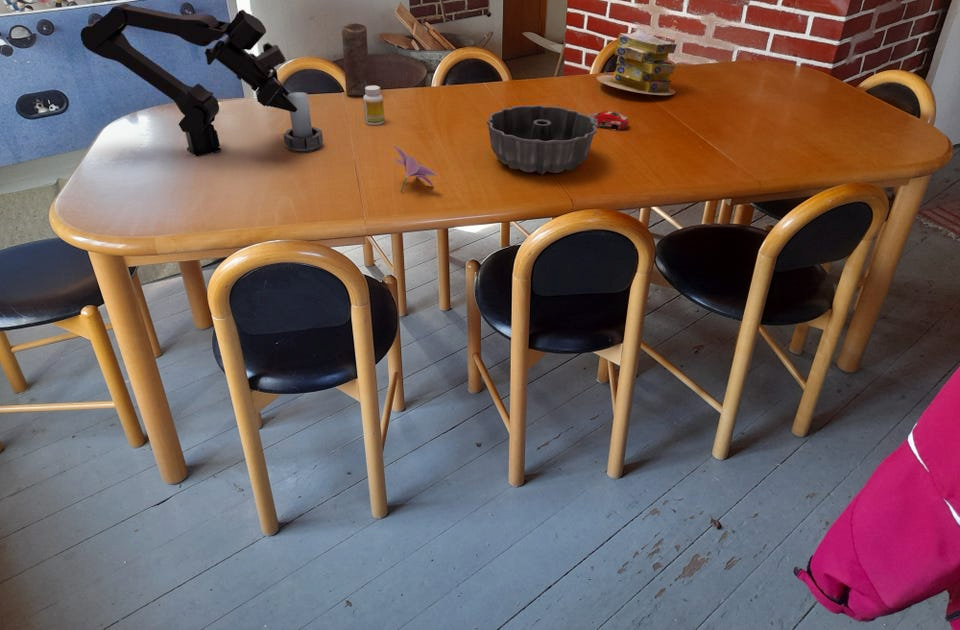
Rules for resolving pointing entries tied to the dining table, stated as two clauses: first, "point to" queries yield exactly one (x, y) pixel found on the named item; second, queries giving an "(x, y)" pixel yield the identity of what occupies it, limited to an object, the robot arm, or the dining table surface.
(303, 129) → the peg
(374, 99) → the supplement bottle
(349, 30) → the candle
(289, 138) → the socket collar
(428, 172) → the lily
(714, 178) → the dining table surface
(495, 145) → the bundt pan
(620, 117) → the race car
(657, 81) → the stacked boxes on plate
